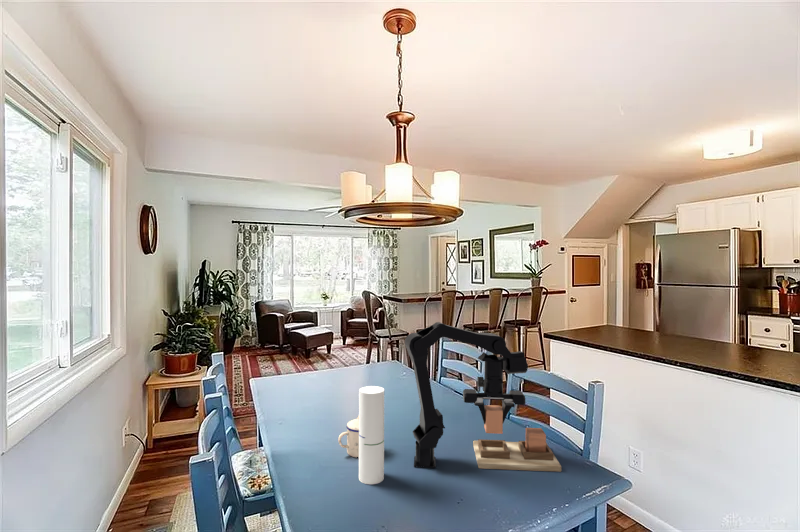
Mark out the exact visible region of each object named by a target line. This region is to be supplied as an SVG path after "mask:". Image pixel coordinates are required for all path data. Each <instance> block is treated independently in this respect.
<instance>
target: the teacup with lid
mask: <svg viewBox="0 0 800 532" xmlns="http://www.w3.org/2000/svg"><path fill="white" fill-rule="evenodd" d="M346 430H347V431H343V432H341V433H340V434H339V436H338V438H337V439H338V444H339V446H340V447H341V448H343V449H346V453H347V455H348V456H350V457H353V458H357V457H358V458H357V459H359V415H358V416H357V418H355V419H352V420H351V419H350V420H349V421H347V424H346ZM344 436H346V439H347V440H346V444H343V443H342V439H343V437H344Z"/></svg>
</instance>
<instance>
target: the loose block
mask: <svg viewBox="0 0 800 532" xmlns="http://www.w3.org/2000/svg"><path fill="white" fill-rule="evenodd" d="M484 407H485V418H486V423H485V424H484V423H483V427H484V430H485V431H484V432H485V434H499V435H500V434H502V435H503V433H504V432H503V430H504V429H503V425H504V423H503V411H502V405H491V404H490V405H488V404H484Z"/></svg>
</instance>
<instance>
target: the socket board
mask: <svg viewBox="0 0 800 532" xmlns="http://www.w3.org/2000/svg"><path fill="white" fill-rule="evenodd" d="M472 446H473V450H474V455H475V458H476V463H477V466H478V469H483V470H484V469H487V470H489V469H490V470H508V471H509V470H510V471H511V470H512V471H518V470H519V471H531V472H533V471H534V472H535V471H537V472H538V471H539V472H557V473H558V472H560V473H561V472H562V465H561V463H560V462H559V460H558V459H557V457H556V456H555V453H554V452H553V451H552V449H551V448H550V446H549V444H548V443H547V435H546V432H545V431H544V430H543V429H542V427H525V440H518V441H506V440H505V439H479V438H478V439H477V440H473V442H472Z"/></svg>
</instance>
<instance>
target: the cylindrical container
mask: <svg viewBox="0 0 800 532" xmlns="http://www.w3.org/2000/svg"><path fill="white" fill-rule="evenodd" d="M358 416H359V458H358V480H359V481H360V482H361V483H362V484H365V485H377V484H380V483H382V482H383V481H384V478H385V388H384V387H382V386H377V385H367V386H363V387H360V388H359V389H358Z"/></svg>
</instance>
